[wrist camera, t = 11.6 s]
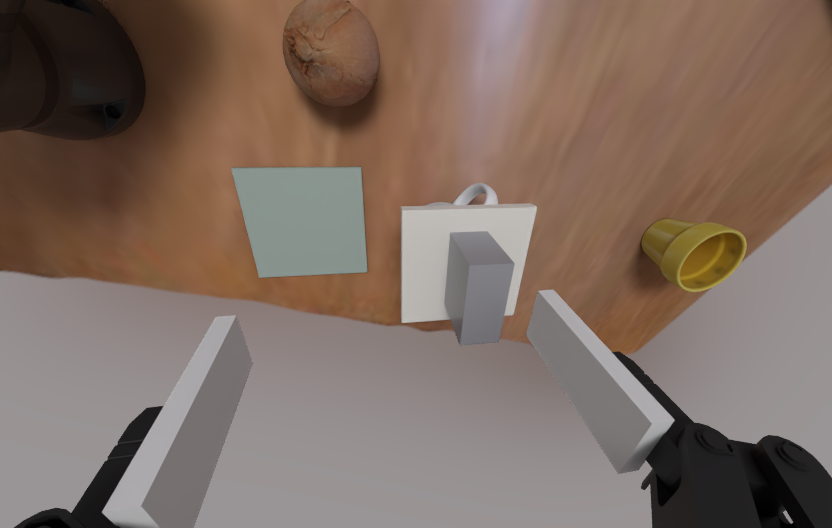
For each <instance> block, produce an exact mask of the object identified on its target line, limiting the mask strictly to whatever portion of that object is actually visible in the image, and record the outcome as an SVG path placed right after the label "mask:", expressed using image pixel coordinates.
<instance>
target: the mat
mask: <svg viewBox="0 0 832 528" xmlns="http://www.w3.org/2000/svg"><path fill="white" fill-rule="evenodd" d="M231 169H232V173H233V177H234V181H235V185H236V189H237V193H238V197H239V200H240V204H241V208H242V212H243V216H244V220H245V224H246V228H247V232H248V235H249V239H250V243H251V247H252V251H253V255H254V259H255V263H256V266H257V270H258V274H259V278H262V277H281V276H301V275H321V274H341V273H361V272H367V256H366V240H365V223H364V207H363V190H362V173H361V167H235V168H231Z"/></svg>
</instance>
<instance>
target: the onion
mask: <svg viewBox="0 0 832 528" xmlns="http://www.w3.org/2000/svg"><path fill="white" fill-rule="evenodd" d="M283 54H284V59H285V63H286V66H287V68H288V70H289V72H290V74H291V76H292V78H293V80H294V82H295V83H296V84H297V85H298V87H299V88H300V89H301V90H302V91H303V92H305V93H306V94H307V95H308V96H309V97H311V98H312V99H314V100H316V101H317V102H319V103H322V104H325V105H330V106H337V107H339V106H349V105H352V104H354V103H356V102H358V101H360V100H361V99H363V98H364V97H365V96H366V95H367V94H368V93H369V91H370V90H371V89H372V87H373V86H374V84H375V82H376V81H377V80H376V77H377V75H378V71H379V66H380V54H379V47H378V42H377V38H376V35H375V32H374V30H373V28H372V26H371V24H370V22H369V21H368V19H367V18H366V16H365V15H364V14H363V13H362V12H361V11H360V10H359V9H357V8H356V7H355V6H354V5H352V4H351V3H350V2H349V1H347V0H304V1H303V2H301V3H300V4H299V5H297V6H296V7H295V8H294V10H293V11H292V13H291V14H290V16H289V18H288V20H287V22H286V25H285V28H284V33H283Z"/></svg>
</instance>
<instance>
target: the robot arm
mask: <svg viewBox="0 0 832 528" xmlns="http://www.w3.org/2000/svg"><path fill="white" fill-rule="evenodd" d="M144 96H145V83H144V76H143V71H142V67H141V64H140V61H139V58H138V56H137V53H136V51H135V49H134V47H133V45H132V43H131V41H130V40H129V38H128V36H127V35H126V33H125V32H124V30H123V29H122V27H121V26H120V24H119V23H118V22H117V21H116V19H115V18H114V17H113V16H112V15H111V14H110V12H109V11H108V10H107V9H106V8H105V7H104V6H103V5H102V4H101V3H100V2H99V1H98V0H0V132H3V131H10V130H24V131H28V132H33V133H38V134H43V135H48V136H52V137H57V138H63V139H70V140H90V139H97V138H102V137H108V136H112V135H115V134H118V133H120V132H122V131H124V130H125V129H127V128H128V127H129V126H130V125H131V124H132V123H133V122H134V121H135V120H136V119H137V117H138V115H139V113H140V112H141V109H142V106H143V102H144ZM526 336H527V337H528V339H529V340H530V342H531V343H532V345H533V346H534V348H535V349H536V350H537V352H538V353H539V355H540V356H541V358H542V359H543V361H544V363H545V364H546V366H547V367H548V369H549V370H550V371H551V373H552V375H553V376H554V378H555V379H556V380H557V382H558V383H559V385H560V387H561V388H562V390H563V391H564V393H565V394H566V396H567V397H568V399H569V400H570V402H571V403H572V405H573V406H574V408H575V409H576V411H577V412H578V414H579V415H580V417H581V418H582V420H583V421H584V423H585V424H586V426H587V427H588V429H589V430H590V432H591V433H592V435H593V436H594V438H595V439H596V441H597V442H598V444H599V445H600V447H601V448H602V450H603V451H604V453H605V454H606V456H607V457H608V459H609V461H610V462H611V464H612V465H613V467H614V468H615V470H616V471H617V473H618V474H619V473H625V472H630V471H636V470H639V469H640V467H641V466H642V464H643V463H644V462H645V460H646V461H647V462H648V463H649V464H650V466H651V467H652V468H653V469H652V471H651V472H650V473H649V475H648V476H647V477H646V478H645V480H644V481H643V483H642V486H641V489H643V490H645V489H646V488H647V487H648V485H649V484H650V485H651V507H652V525H653V526H652V528H832V478H831V476H830V475H829V474H828V472H827V471H826V470H825V469H824V467H823V466H822V465H821V464H820V463H819V462H818V461H817V459H816V458H814V456H813V455H811V454H810V453H808V452H807V451H806V450H805V449H803V448H802V447H800V446H799V445H797V444H795V443H793V442H791V441H790V440H787V439H784V438H781V437H779V436H772V435H768V436H765V437H763V438H762V439H761V440H760V441H759V442H758V443H757V444H752V443H746V442H740V441H734V440H729V439H728V438H727V437H725V436H724V435H723V434H721V433H720V432H719V431H717V430H715V429H713V428H711V427H709V426H707V425H703V424H700V423H694V422H693V421H692V420H691V419H690V418H689V417H688V416H687V415H686V414H685V413H684V412H683V411H682V410H681V409H680V408H679V407H678V406H677V405H676V404H675V403H674V402H673V401H672V400H671V399H670V398H669V397H668V396H667V395H666V394H665V393H664V392H663V391H662V390H661V389H660V388H659V387H658V386H657V385H656V384H654V383H653V381H652V380H651V379H650V378H649V376H647V375H645V374H644V371H643V370H642V369H641V368H640V367H639V366H638V365H637V364H636V363H635V362H634V361H632V360H631V359H630V358H628V357H626V356H625V355H623V354H622V353H620V352H611V351H610V350H609V349H608V348H607V347H606V346H605V345H604V344H603V343H602V341H601V340H600V339H599V338H598V337H597V336H596V335H595V334H594V333H593V332H592V331H591V330H590V329H589V328H588V326H587V325H586V324H585V323H584V322H583V321H582V320H581V319H580V318H579V317H578V316H577V315H576V314H575V313H574V311H573V310H572V309H571V308H570V307H569V306H568V305H567V304H566V303H565V302H564V301H563V300H562V299H561V298H560V296H559V295H558V294H557V293H556V292H555V291H554V290H543V291H538V293H537V297H536V301H535V304H534V308H533V312H532V315H531V319H530V323H529V326H528V330H527V334H526ZM252 364H253V363H252V360H251V357H250V354H249V351H248V348H247V345H246V342H245V339H244V336H243V333H242V330H241V327H240V324H239V321H238V319H237V316H236V315H233V316H220V317H215V319H214V321H213V323H212V324H211V326H210V328H209V329H208V331H207V333H206V335H205V336H204V338H203V340H202V341H201V343H200V345H199V347H198V348H197V350H196V352H195V354H194V355H193V357H192V359H191V360H190V362H189V364H188V365H187V367H186V369H185V371H184V372H183V374H182V376H181V377H180V379H179V381H178V383H177V384H176V386H175V388H174V389H173V391H172V393H171V395H170V396H169V398H168V400H167V401H166V403H165V405H164V406H159V407H151V408H146V409H145V410H144V411H143V412H142V413H141V414H140V415H139V416H138V417H137V418H135V420H133V421H132V422H131V423H130V424H129V426H128V427H127V429H126V430H125V432H124V433H123V435H122V436H121V438H120V439H119V441H118V445H117V446H115V447H114V449H113V450H112V452H111V453H110V455H109V456H108V460H107V461H105V462H104V464H103V465H102V467H101V469H100V470H99V472H98V473H97V475H96V476H95V478H94V479H93V481H92V482H91V484H90V485H89V487H88V488H87V490H86V491H85V493H84V495H83V496H82V498H81V499H80V501H79V502H78V504H77V506H76V507H75V508H74V510H73V511H72V513H70V512H69V511H67V510H66V509H60V508H54V509H50V510H45V511H41V512H39V513H37V514H35V515H34V516H32V517H30V518H28V519H26V520H24V521H22V522H21V523H20V524H18V525H17V526H16V527H14V528H194V525H195V522H196V520H197V517H198V514H199V511H200V508H201V506H202V503H203V500H204V497H205V495H206V492H207V489H208V486H209V483H210V481H211V478H212V475H213V472H214V470H215V467H216V464H217V461H218V458H219V456H220V453H221V450H222V447H223V445H224V442H225V439H226V436H227V433H228V430H229V427H230V425H231V422H232V419H233V417H234V414H235V411H236V408H237V406H238V403H239V400H240V397H241V394H242V391H243V389H244V386H245V383H246V381H247V378H248V375H249V372H250V369H251V366H252ZM785 510H786V511H787V512H788V514H789V516H790V517H791V519H792V521H793V523H792V524H790V522H789V521H788V520H787V519H786V517H785V515H784V514H783V512H784V511H785Z"/></svg>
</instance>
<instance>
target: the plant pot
mask: <svg viewBox="0 0 832 528" xmlns="http://www.w3.org/2000/svg"><path fill="white" fill-rule="evenodd" d="M641 246H642V249H643V251H644V252H645V253H646V254H647V255H648V256H649V257H650V258H651V259H652V260H653V261H654V262H655V263H656V264H657V265H658V266H659V267H660V268H661V272H662V274H663V276H664V277H665V278H666V279H668V280H669V281H670V282H672V283H673V284H675V285H676V286H678V287H680V288H681V289H683V290H685V291H689V292H699V291H704V290H707V289H709V288H712V287H714V286H716V285H718V284H719V283H721V282H722V281H724V280H725V279H726V278H727V277H729V276H730V274H732V273H733V272H734V271H735V270H736V268H737V267H738V266H739V264H740V263H741V261H742V260H743V257H744V255H745V252H746V247H747V243H746V239H745V237H744V236H743V234H741V233H740V232H739V231H737V230H734V229H732V228H729V227H726V226H723V225H720V224H716V223H701V224H698V223H692V222H686V221H680V220H674V219H662V220H659V221H657V222H655V223H654V224H652V225H651V226H650V227H649V228H648V229H647V230H646V232H645V233H644V235H643V237H642V241H641Z"/></svg>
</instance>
